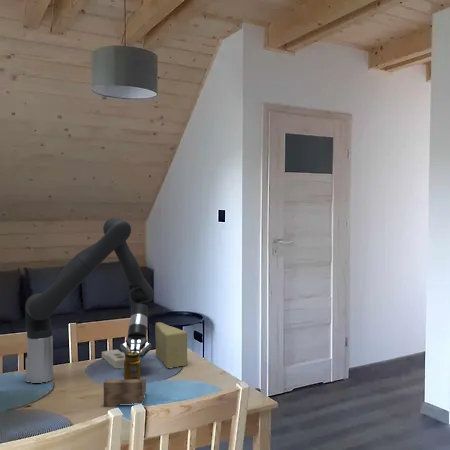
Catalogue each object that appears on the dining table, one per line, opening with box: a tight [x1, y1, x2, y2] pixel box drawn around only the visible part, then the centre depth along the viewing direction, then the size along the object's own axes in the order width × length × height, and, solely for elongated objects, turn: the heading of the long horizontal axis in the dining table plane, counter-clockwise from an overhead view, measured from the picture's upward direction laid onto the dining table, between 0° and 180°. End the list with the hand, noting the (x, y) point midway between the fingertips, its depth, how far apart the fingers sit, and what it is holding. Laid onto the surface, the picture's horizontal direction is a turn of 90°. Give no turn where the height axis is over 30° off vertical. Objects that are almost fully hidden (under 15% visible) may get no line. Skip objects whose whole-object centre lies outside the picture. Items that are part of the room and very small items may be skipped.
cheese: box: [154, 321, 188, 369], centre depth 221 cm, size 22×10×15 cm, turn 30°
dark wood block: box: [103, 378, 147, 407], centre depth 178 cm, size 13×10×8 cm
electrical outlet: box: [101, 349, 125, 368], centre depth 220 cm, size 7×4×18 cm
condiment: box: [123, 351, 141, 380], centre depth 191 cm, size 7×8×12 cm
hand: (133, 366), depth 199 cm, fingers closed
